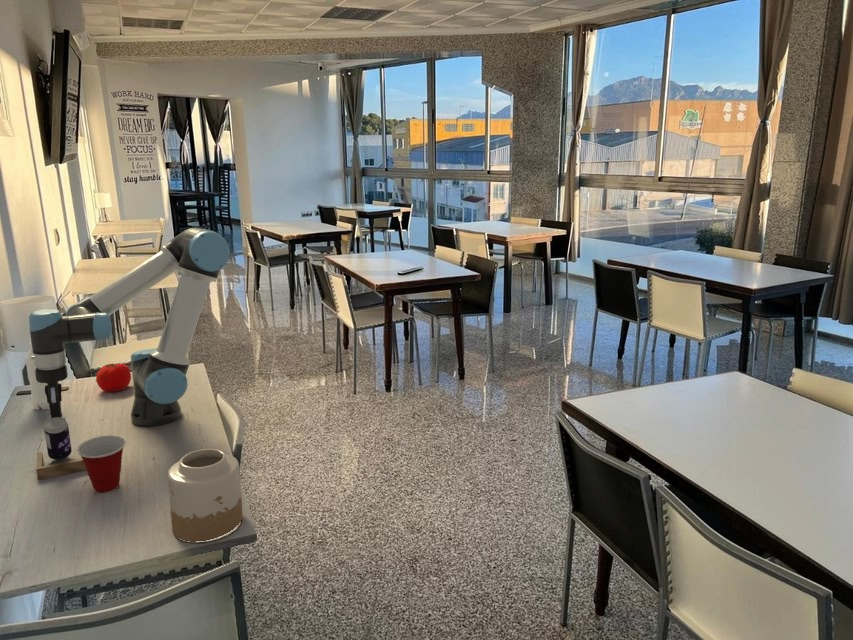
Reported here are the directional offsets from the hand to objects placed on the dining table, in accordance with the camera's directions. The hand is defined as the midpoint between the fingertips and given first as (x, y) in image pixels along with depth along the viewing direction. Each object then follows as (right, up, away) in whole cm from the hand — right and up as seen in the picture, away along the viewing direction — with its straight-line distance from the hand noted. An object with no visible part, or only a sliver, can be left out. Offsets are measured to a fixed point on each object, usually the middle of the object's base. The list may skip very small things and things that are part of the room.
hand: (59, 444), depth 173 cm
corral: (+5, -4, -6) cm, 9 cm away
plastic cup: (+22, -8, -17) cm, 29 cm away
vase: (+54, -12, -33) cm, 64 cm away
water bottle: (-26, +5, +34) cm, 43 cm away
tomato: (-11, +10, +52) cm, 54 cm away
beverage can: (+1, -3, -2) cm, 4 cm away
